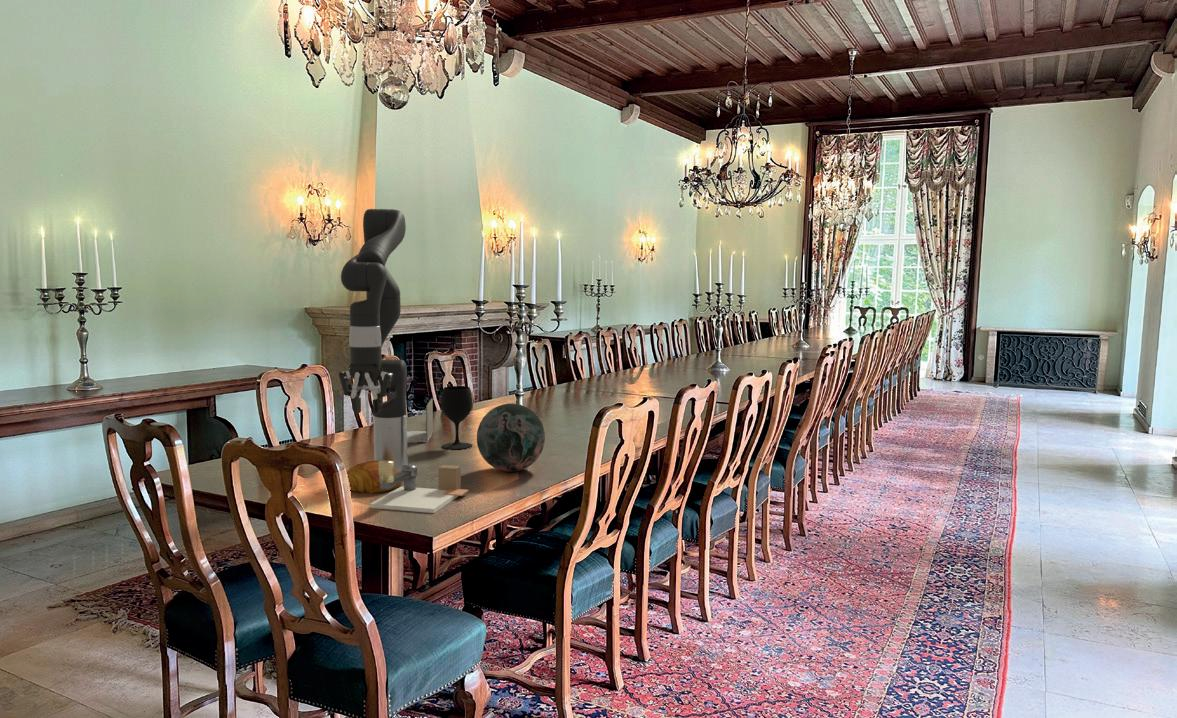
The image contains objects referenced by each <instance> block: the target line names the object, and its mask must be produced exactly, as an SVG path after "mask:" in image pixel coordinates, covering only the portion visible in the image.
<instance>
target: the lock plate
mask: <svg viewBox="0 0 1177 718" xmlns="http://www.w3.org/2000/svg"><path fill="white" fill-rule="evenodd" d="M461 468H462V467H461V465H452V464H450V465H447V464H442V465H440V466H438V469H437V470H438V488H426V487H417V485H416V482H417V481H416V479H417V478H416V477H417V476H414V477H410V478H408V479H407V480H405V481H403V486H399V487H397V488H395V489H393V490H391V491H390V492H389V493H387V494H385V495H384V496H381V497H380V498H378V499H376V500H374V501H372V502H371V503H370V504H369V508H370V509H378V510H379V509H380V510H393V511H403V512H404V511H405V512H415V513H416V512H417V513H427V514H428V513H430V514H435V513H436V512H438V511H439V510H441V509H442V508H444V507H445V506H446V505H448V504H449V503H451V502H452V501H454V500H455V499H457V498H458V497H459V496H460V497H462V496H463V495H465V494H466V493H468V492H469V491H470V490H469V489H466V488H465V489H462V485H461V483H462V482H461V481H462V479H461V478H462V476H461V475H462V472H461V471H462V470H461Z"/></svg>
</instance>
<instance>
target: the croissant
mask: <svg viewBox="0 0 1177 718" xmlns="http://www.w3.org/2000/svg"><path fill="white" fill-rule="evenodd" d="M346 472H347V474H348V478H349V482H350V487H351V491H350V492H355V493H359V492H360V493H366V494H375V493H377V494H378V493H383V492H389V491H394V490H396V489H398V488H399V487H401V485H402V483H403V482H401V483H399V484H398V485H396V486H394V487H392V488H390V489H381V488H380V482H379V461H374V460H371V461H365V462H361V463H358V464H355V465H353V466H352V467H350V468H349V469H348V470H347V471H346ZM397 473H399V472H398V471H397V470H396V469H395V468H394V475H395V474H397Z"/></svg>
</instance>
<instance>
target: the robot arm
mask: <svg viewBox="0 0 1177 718" xmlns="http://www.w3.org/2000/svg"><path fill="white" fill-rule="evenodd" d="M405 218H406V217H405V215H404V213H403V211H401V210H398V209H393V208H392V209H391V208H390V209H388V208H367V209H366V210H365V211H364V213H363V218H362V229H363V232H362V233H363V242H364V244H363V245H362V246H361V248H360V249H359V252H358V254H356V255H354V256H353V257H352V258H350V259H349V260H347V261H346V263H345V264H344V266H343V267H342V270H341V272H340V280H341V284H342V286H343V288H345V289H347V291H349V292H365V293H366V299H364V300H359V301H354V302H352V303H351V304H350V306H349V325H350V327H349V338H348V339H349V340H348V342H349V343H348V344H349V363H350V366H349V368H348V370H345V371H340V372H339V373H338V376H339V380H340V384H341V387H342V390H343V394H344V395H345V396H347V397H351V404H352V405H351V407H352V408H351V409H352V411H353V413H354V414H360V413H361V412H362V397H360V396H361V393H362V390H363V388H364V386H366V387H368V389H369V391H370V392H371V395H372V414H373V454H374V455H373V456H374V457H373V458H374V459H373V461H382V460H393V461H394V468H395V469H396V470H397V471H398V472H401V471H402V466H403V465H409V464H408V461H409V460H408V443H407V431H408V425H407V422H408V421H407V418H408V417H407V415H408V413H407V381H408V369H407V364H406V361H405V360H403V359H382V355H383V354H382V347H383V345H384V343H385V342H386V339H387V338H388V337H389V334H390V333H391V331H392V329H394V326H395V325H396V324H397V322H398V320H399V319H400V317H401V308H402V307H401V306H402V305H401V290H400V287H399V285H398V283H397V282H396V280H395V278H394V277H393V276H392V274H391V272H389V269H388V268H387V267H386V264H387V261H388V258H389V257H390V255H391V254H392V253H393V252H394V251H395V250H396V249H398V247H399V245H400V244H401V243H402V242H403V240H404V238H405V236H406V235H405V234H406V230H407V229H406V227H407V225H406V219H405ZM351 378H352V379H353V383H352V382H351ZM392 392H393V393H394V395H393V396H392V397H391V398H389V399H388V400H386V401H383V402H382V398H384V397H387V396H389V395H390V393H392Z"/></svg>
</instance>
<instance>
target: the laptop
mask: <svg viewBox="0 0 1177 718" xmlns="http://www.w3.org/2000/svg"><path fill="white" fill-rule="evenodd" d="M433 404H434V403H433V398H430V400H429V402H428V403H427V405H426V407H425V413H426V414H425V417H426V419H425V420H426V421H425V424H426V428H425V429H426V430H425V431H424V430H423V431H421V430H420V431H416V430H415V431H412V430H411V431H408V430H407V444H411V443H412V444H413V443H414V444H415V443H417V442H427V443H428V441H430V439H429V438H431V437H432V435H433V432H434V423H433V422H434V417H433V416H434V415H433V414H434V411H433V410H434V409H433V408H434V407H433V406H434V405H433ZM417 444H418V443H417Z"/></svg>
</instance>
